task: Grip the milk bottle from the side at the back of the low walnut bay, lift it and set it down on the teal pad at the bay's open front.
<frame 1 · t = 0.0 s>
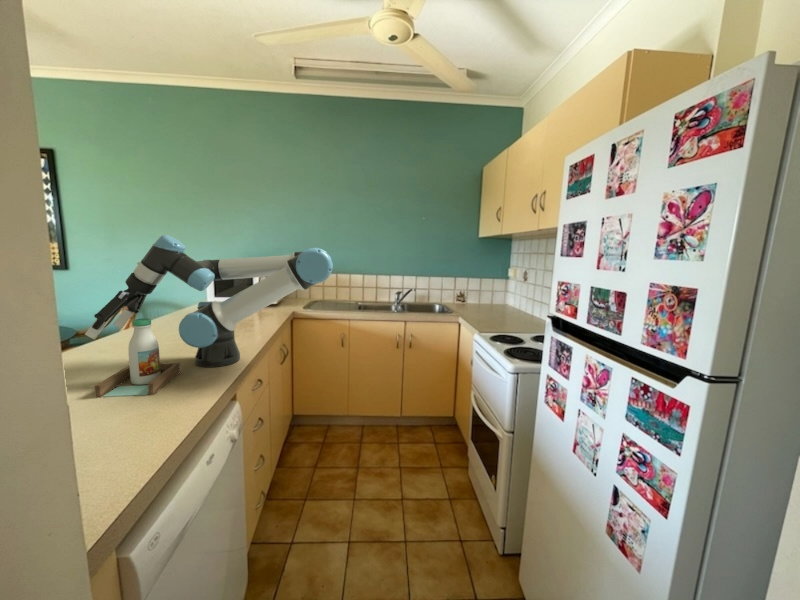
hand: (104, 331, 107), 15 cm above the countertop, tool tilted 35°, fingers open, 13 cm apart
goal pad: (132, 391, 100), on the countertop
milk bottle: (146, 381, 107), resting in bay
bay: (141, 384, 104), on the countertop
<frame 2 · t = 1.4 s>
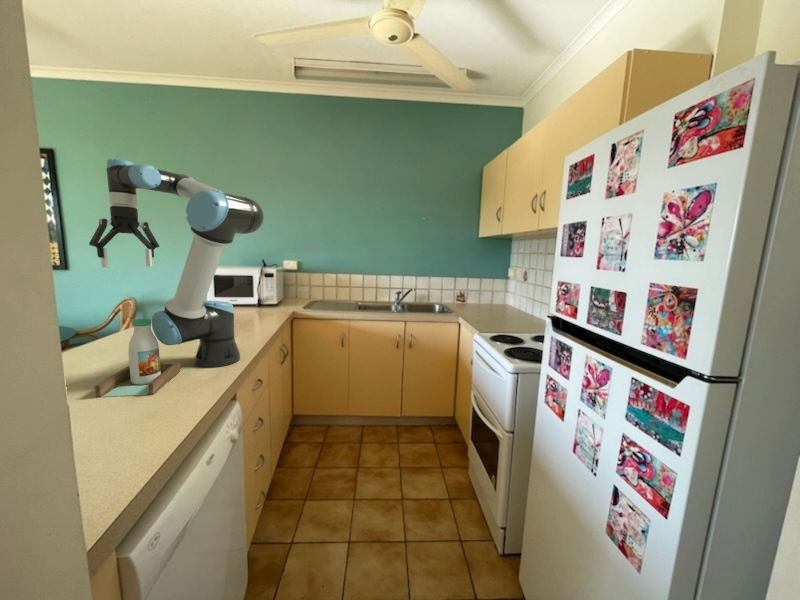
hand: (128, 267, 121), 35 cm above the countertop, tool pointing down, fingers open, 13 cm apart
nothing on the countertop moved.
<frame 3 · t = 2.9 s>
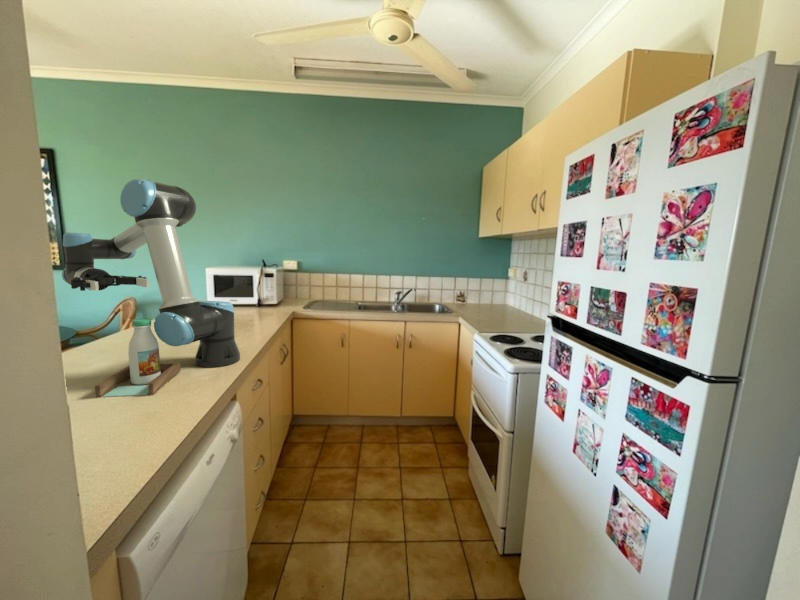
hand: (123, 284, 107), 30 cm above the countertop, tool horizontal, fingers open, 13 cm apart
nothing on the countertop moved.
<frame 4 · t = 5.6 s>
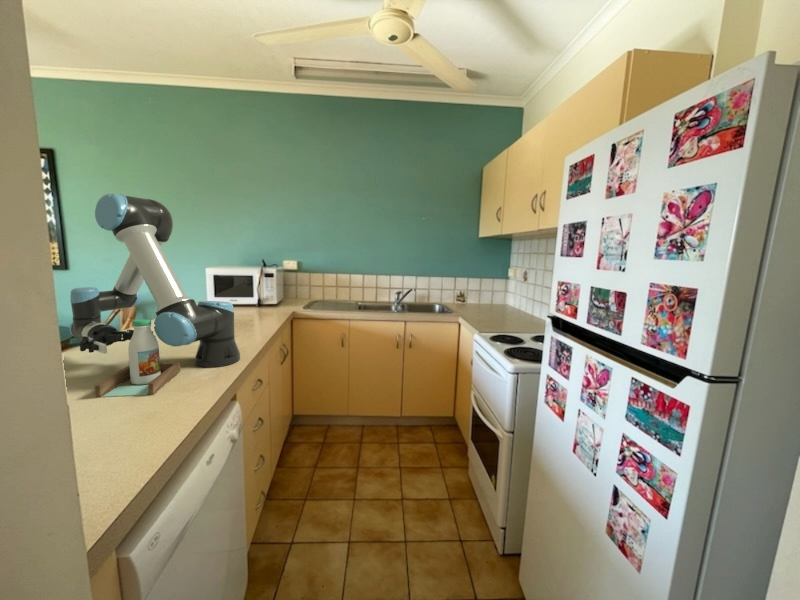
hand: (131, 344, 109), 11 cm above the countertop, tool horizontal, fingers open, 13 cm apart
nothing on the countertop moved.
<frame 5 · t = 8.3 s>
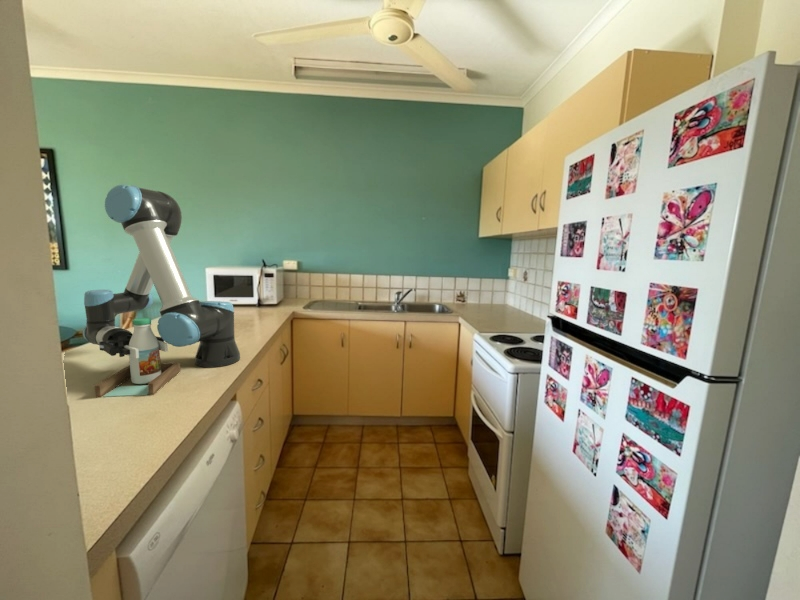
hand: (152, 350, 103), 11 cm above the countertop, tool horizontal, fingers closed on milk bottle, 7 cm apart
milk bottle: (146, 380, 107), resting in bay, touching gripper
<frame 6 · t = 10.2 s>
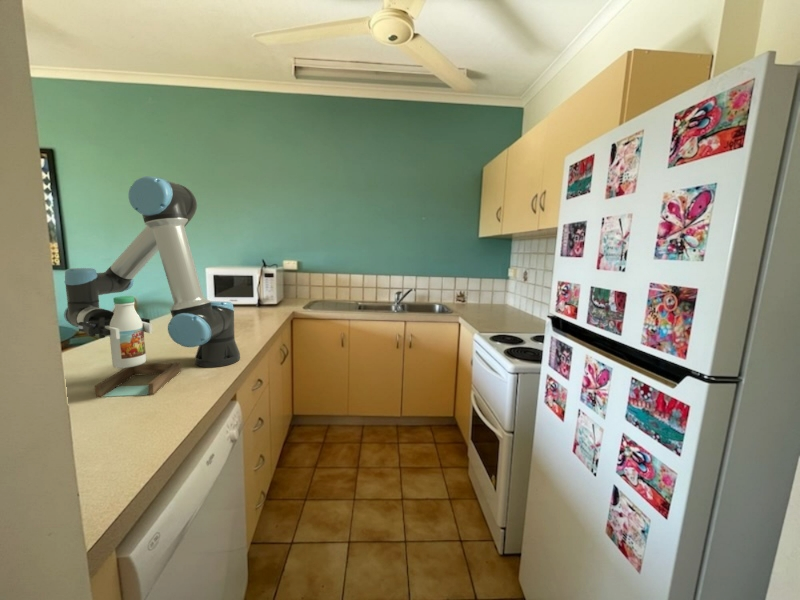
hand: (134, 331, 95), 19 cm above the countertop, tool horizontal, fingers closed on milk bottle, 7 cm apart
milk bottle: (130, 364, 98), point 8 cm above the countertop, touching gripper
when the fingers open (12 cm above the countertop, at t = 12.3 s): milk bottle drops 1 cm, resting on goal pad.
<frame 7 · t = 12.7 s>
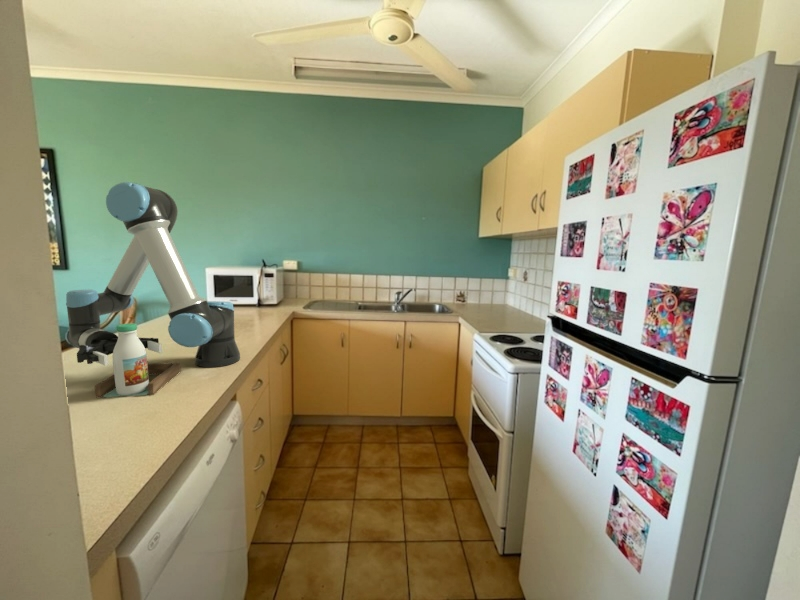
hand: (135, 354, 96), 12 cm above the countertop, tool horizontal, fingers open, 13 cm apart
milk bottle: (133, 390, 99), resting on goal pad
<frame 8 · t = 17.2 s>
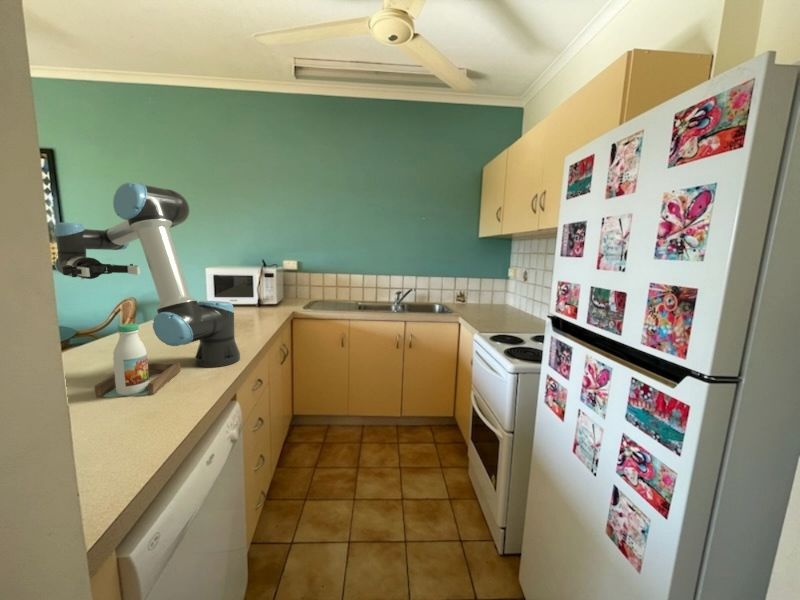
hand: (114, 271, 109), 34 cm above the countertop, tool horizontal, fingers open, 13 cm apart
nothing on the countertop moved.
at the end: milk bottle inside the target area (0.4 cm from its centre), resting on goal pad; milk bottle tilted 0°; the gripper is holding nothing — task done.
